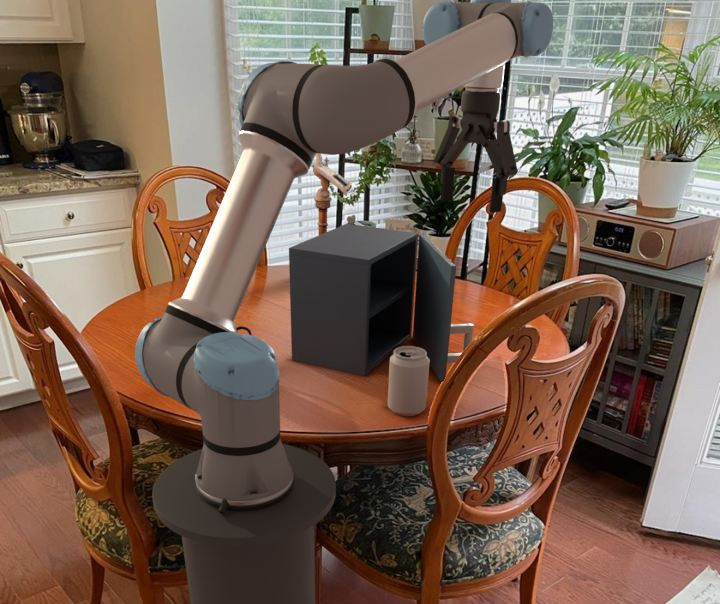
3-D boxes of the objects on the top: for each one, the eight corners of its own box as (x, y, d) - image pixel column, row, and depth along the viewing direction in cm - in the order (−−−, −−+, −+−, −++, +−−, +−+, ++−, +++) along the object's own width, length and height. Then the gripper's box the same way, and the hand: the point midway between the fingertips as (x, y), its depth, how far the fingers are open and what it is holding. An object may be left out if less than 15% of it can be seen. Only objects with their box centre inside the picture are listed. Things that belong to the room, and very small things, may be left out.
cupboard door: (439, 336, 172) (448, 233, 160) (471, 380, 150) (485, 265, 138) (412, 337, 171) (419, 234, 159) (440, 381, 149) (451, 266, 137)
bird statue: (361, 271, 219) (365, 147, 201) (354, 283, 208) (357, 153, 190) (309, 268, 221) (307, 144, 203) (299, 279, 210) (297, 150, 192)
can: (381, 403, 140) (383, 346, 134) (416, 399, 142) (420, 341, 136) (396, 420, 134) (399, 360, 128) (432, 414, 136) (437, 356, 130)
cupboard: (411, 337, 172) (418, 233, 159) (365, 375, 151) (368, 259, 139) (345, 324, 178) (346, 223, 165) (291, 360, 158) (288, 247, 145)
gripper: (546, 94, 131) (529, 214, 142) (448, 86, 147) (439, 195, 158) (520, 94, 127) (505, 219, 138) (422, 86, 143) (415, 198, 154)
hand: (470, 206), depth 148 cm, fingers open, 13 cm apart
